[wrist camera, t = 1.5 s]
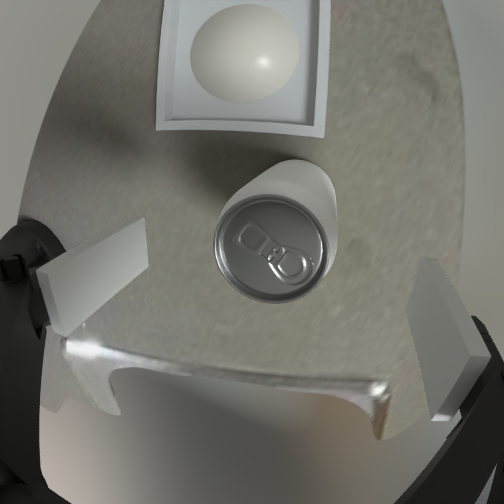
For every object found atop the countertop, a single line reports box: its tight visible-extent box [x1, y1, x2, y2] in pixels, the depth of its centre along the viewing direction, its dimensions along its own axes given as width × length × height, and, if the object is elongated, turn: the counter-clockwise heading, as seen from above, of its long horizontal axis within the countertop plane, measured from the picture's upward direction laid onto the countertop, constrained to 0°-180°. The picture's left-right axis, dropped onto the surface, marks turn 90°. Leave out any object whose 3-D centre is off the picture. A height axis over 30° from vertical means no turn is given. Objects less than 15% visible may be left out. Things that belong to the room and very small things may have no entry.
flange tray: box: [156, 0, 331, 138], centre depth 21 cm, size 14×14×2 cm
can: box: [213, 159, 338, 304], centre depth 20 cm, size 6×6×12 cm
